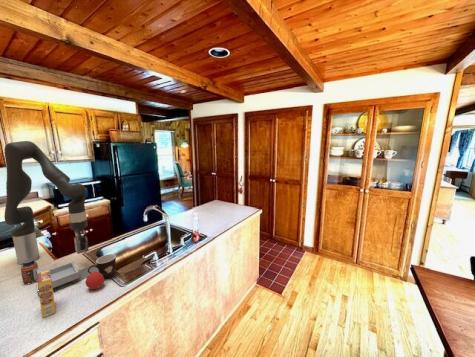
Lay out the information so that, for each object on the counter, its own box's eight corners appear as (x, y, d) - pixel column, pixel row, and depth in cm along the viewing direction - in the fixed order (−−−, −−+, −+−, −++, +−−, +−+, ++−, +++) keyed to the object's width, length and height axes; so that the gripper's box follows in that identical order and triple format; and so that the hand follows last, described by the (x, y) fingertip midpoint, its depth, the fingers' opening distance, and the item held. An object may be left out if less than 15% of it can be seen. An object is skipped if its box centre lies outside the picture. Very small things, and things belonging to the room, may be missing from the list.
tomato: (84, 277, 89) (100, 265, 96) (79, 282, 93) (95, 270, 100) (96, 290, 90) (111, 277, 96) (90, 294, 93) (105, 282, 100)
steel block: (75, 251, 112) (74, 238, 111) (86, 247, 116) (84, 235, 114) (77, 254, 109) (75, 240, 107) (88, 250, 112) (87, 237, 111)
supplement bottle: (19, 286, 96) (15, 264, 95) (28, 278, 102) (25, 258, 100) (34, 283, 98) (31, 262, 96) (42, 276, 104) (39, 256, 102)
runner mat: (36, 286, 96) (36, 285, 96) (99, 263, 115) (99, 262, 115) (38, 297, 89) (38, 296, 89) (104, 270, 108) (104, 270, 108)
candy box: (56, 312, 80) (51, 278, 78) (42, 318, 77) (36, 284, 75) (54, 301, 87) (49, 269, 84) (41, 306, 83) (35, 274, 81)
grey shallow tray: (38, 282, 98) (36, 268, 97) (74, 269, 108) (72, 257, 107) (41, 296, 89) (38, 281, 88) (80, 280, 99) (78, 267, 98)
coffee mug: (119, 269, 109) (117, 252, 107) (115, 279, 101) (113, 261, 99) (94, 274, 105) (92, 257, 103) (88, 284, 97) (86, 266, 95)
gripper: (67, 218, 111) (70, 246, 114) (72, 224, 102) (76, 255, 104) (83, 214, 117) (86, 241, 119) (89, 220, 107) (93, 249, 110)
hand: (81, 247), depth 112 cm, fingers closed on steel block, 5 cm apart
